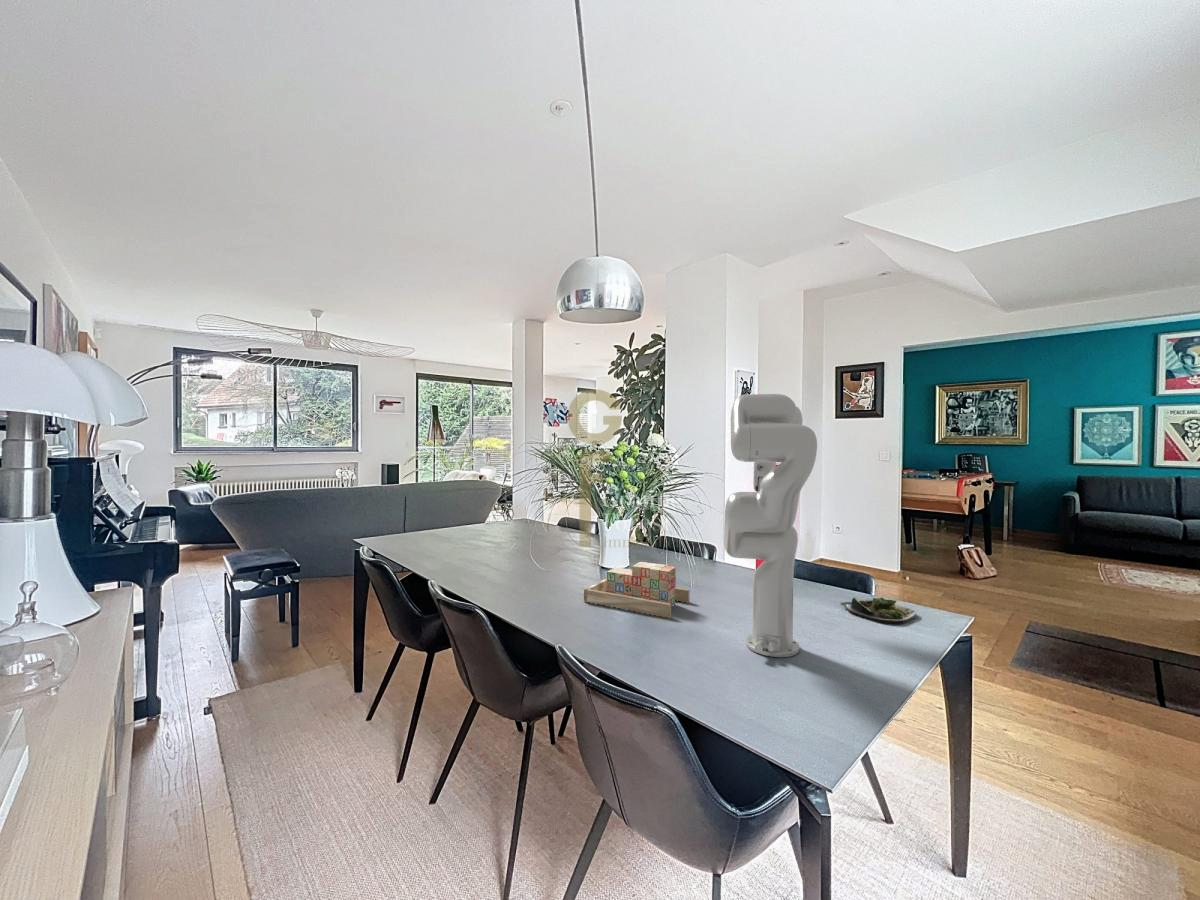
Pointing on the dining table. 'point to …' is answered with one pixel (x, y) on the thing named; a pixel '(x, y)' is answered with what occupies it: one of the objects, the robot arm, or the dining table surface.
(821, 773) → the dining table surface
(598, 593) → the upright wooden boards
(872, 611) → the salad plate
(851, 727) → the dining table surface
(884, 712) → the dining table surface
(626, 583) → the stack of blocks
